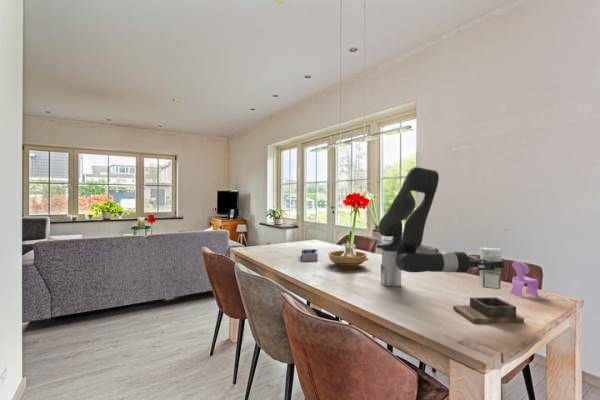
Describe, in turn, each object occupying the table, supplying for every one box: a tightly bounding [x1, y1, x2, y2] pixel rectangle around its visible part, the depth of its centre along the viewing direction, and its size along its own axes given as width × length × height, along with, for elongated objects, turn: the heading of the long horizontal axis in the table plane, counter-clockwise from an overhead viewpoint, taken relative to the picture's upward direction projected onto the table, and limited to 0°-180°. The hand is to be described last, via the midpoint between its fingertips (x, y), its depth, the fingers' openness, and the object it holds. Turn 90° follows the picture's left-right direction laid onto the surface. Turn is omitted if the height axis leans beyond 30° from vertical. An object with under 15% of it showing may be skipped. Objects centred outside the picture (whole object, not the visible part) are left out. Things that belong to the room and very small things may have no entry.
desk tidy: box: [301, 248, 319, 262], centre depth 216 cm, size 10×18×5 cm, turn 1°
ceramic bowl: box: [327, 250, 369, 269], centre depth 192 cm, size 30×24×8 cm
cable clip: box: [301, 248, 318, 254], centre depth 216 cm, size 12×4×6 cm, turn 131°
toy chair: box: [509, 260, 539, 298], centre depth 136 cm, size 8×9×15 cm
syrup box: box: [478, 246, 502, 290], centre depth 112 cm, size 6×6×14 cm
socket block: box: [452, 296, 525, 324], centre depth 112 cm, size 18×13×5 cm
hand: (495, 262), depth 112 cm, fingers closed on syrup box, 7 cm apart
